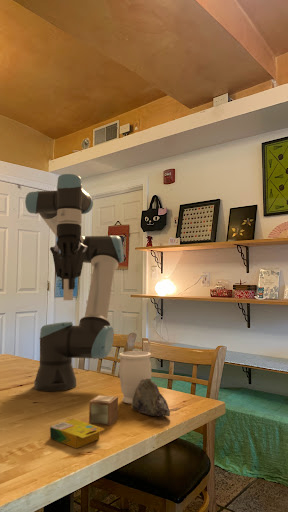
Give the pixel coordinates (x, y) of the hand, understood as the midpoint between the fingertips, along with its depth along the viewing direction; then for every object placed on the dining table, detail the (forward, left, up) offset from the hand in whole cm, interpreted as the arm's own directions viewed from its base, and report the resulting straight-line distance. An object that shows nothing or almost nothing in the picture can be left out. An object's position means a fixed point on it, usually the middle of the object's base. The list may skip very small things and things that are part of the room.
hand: (68, 300), depth 120 cm
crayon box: (+11, -17, -31) cm, 37 cm away
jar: (+15, +16, -33) cm, 39 cm away
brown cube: (+16, -5, -33) cm, 37 cm away
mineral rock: (+25, +5, -33) cm, 42 cm away
